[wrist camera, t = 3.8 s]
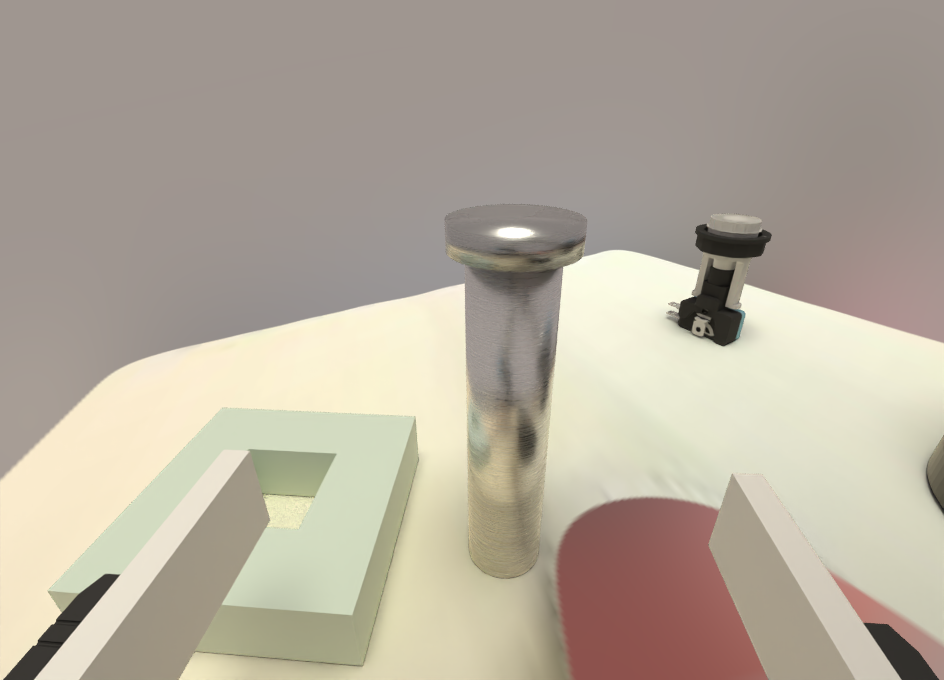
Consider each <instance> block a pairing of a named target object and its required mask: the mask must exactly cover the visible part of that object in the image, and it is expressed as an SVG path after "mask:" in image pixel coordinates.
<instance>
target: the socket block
mask: <svg viewBox="0 0 944 680" xmlns="http://www.w3.org/2000/svg"><path fill="white" fill-rule="evenodd" d="M223 450H245V451H250V453H251V457H252V460H253V463H254V467H255V470H256V474H257V477H258V481H259V484H260V487H261V491H262V494H277V495H294V496H311V497H315V498H314V500H313V502H312V504H311V506H310V508H309V510H308V512H307V514H306V516H305V518H304V520H303V521H302V523H301V525H300V527H299V529H287V528H272V527H266V528H265V530H264V532H263V533H262V535H261V537H260V539H259V540H258V542H257V544H256V546H255V547H254V549H253V551H252V552H251V554H250V556H249V558H248V559H247V561H246V563H245V565H244V566H243V568H242V570H241V572H240V573H239V575H238V577H237V579H236V580H235V582H234V584H233V586H232V587H231V589H230V591H229V593H228V594H227V596H226V598H225V599H224V601H223V603H222V605H221V606H220V608H219V610H218V612H217V613H216V615H215V617H214V619H213V620H212V622H211V624H210V626H209V627H208V629H207V631H206V633H205V634H204V636H203V638H202V640H201V641H200V643H199V645H198V647H197V648H196V650H195V651H199V652H210V653H222V654H233V655H244V656H256V657H267V658H278V659H290V660H301V661H312V662H324V663H335V664H346V665H358V666H363V663H364V659H365V655H366V652H367V648H368V644H369V640H370V637H371V633H372V629H373V626H374V622H375V618H376V615H377V611H378V607H379V603H380V600H381V596H382V592H383V589H384V585H385V581H386V578H387V574H388V570H389V566H390V563H391V559H392V555H393V552H394V548H395V544H396V541H397V537H398V533H399V529H400V526H401V522H402V518H403V515H404V511H405V507H406V503H407V500H408V496H409V492H410V489H411V485H412V481H413V478H414V474H415V470H416V466H417V463H418V459H419V458H418V445H417V432H416V419H415V416H395V415H373V414H351V413H329V412H308V411H286V410H264V409H242V408H222V409H221V410H220V411H219V412H218V413H217V414H216V415H215V416H214V417H213V418H212V419H211V420H210V421H209V422H208V423H207V424H206V425H205V426H204V428H203V429H202V430H201V431H200V432H199V433H198V434H197V435H196V436H195V437H194V438H193V439H192V440H191V441H190V442H189V443H188V444H187V445H186V446H185V447H184V448H183V449H182V451H181V452H180V453H179V454H178V455H177V456H176V457H175V458H174V459H173V460H172V461H171V462H170V463H169V464H168V465H167V466H166V467H165V468H164V469H163V470H162V471H161V472H160V474H159V475H158V476H157V477H156V478H155V479H154V480H153V481H152V482H151V483H150V484H149V485H148V486H147V487H146V488H145V489H144V490H143V491H142V492H141V493H140V494H139V496H138V497H137V498H136V499H135V500H134V501H133V502H132V503H131V504H130V505H129V506H128V507H127V508H126V509H125V510H124V511H123V512H122V513H121V514H120V515H119V516H118V517H117V519H116V520H115V521H114V522H113V523H112V524H111V525H110V526H109V527H108V528H107V529H106V530H105V531H104V532H103V533H102V534H101V535H100V536H99V537H98V538H97V539H96V541H95V542H94V543H93V544H92V545H91V546H90V547H89V548H88V549H87V550H86V551H85V552H84V553H83V554H82V555H81V556H80V557H79V558H78V559H77V560H76V561H75V562H74V564H73V565H72V566H71V567H70V568H69V569H68V570H67V571H66V572H65V573H64V574H63V575H62V576H61V577H60V578H59V579H58V580H57V581H56V582H55V583H54V584H53V585H52V587H51V588H50V589H49V590H48V593H49V594H50V596H51V597H52V599H53V600H54V602H55V603H56V605H57V606H58V608H59V609H60V611H61V612H63V611H64V610H65V609H66V608H67V607H68V605H69V604H70V603H71V602H72V601H73V600H74V599H75V597H76V596H77V595H78V594H79V593H81V592H82V591H83V590H85V589H86V588H87V587H88V586H90V585H91V584H92V583H94V582H95V581H96V580H98V579H99V578H100V577H102V576H103V575H104V574H120V575H121V574H122V572H123V571H124V570H125V569H126V567H127V566H128V565H129V564H130V563H131V561H132V560H133V559H134V558H135V557H136V555H137V554H138V553H139V552H140V550H141V549H142V548H143V547H144V546H145V544H146V543H147V542H148V541H149V540H150V538H151V537H152V536H153V535H154V533H155V532H156V531H157V530H158V529H159V527H160V526H161V525H162V524H163V523H164V521H165V520H166V519H167V518H168V516H169V515H170V514H171V513H172V512H173V510H174V509H175V508H176V507H177V506H178V504H179V503H180V502H181V501H182V500H183V498H184V497H185V496H186V495H187V493H188V492H189V491H190V490H191V489H192V487H193V486H194V485H195V484H196V483H197V481H198V480H199V479H200V478H201V476H202V475H203V474H204V473H205V472H206V470H207V469H208V468H209V467H210V466H211V464H212V463H213V462H214V461H215V459H216V458H217V457H218V456H219V455H220V453H221V452H222V451H223Z"/></svg>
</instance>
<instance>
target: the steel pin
mask: <svg viewBox="0 0 944 680" xmlns="http://www.w3.org/2000/svg"><path fill="white" fill-rule="evenodd" d="M586 228H587V219H586V218H585V217H584V216H583V215H581V214H579V213H577V212H573V211H570V210H567V209H562V208H556V207H550V206H540V205H525V204H500V205H485V206H476V207H470V208H465V209H461V210H457V211H455V212H452V213H450V214H448V215H447V216H446V217H445V241H446V242H445V244H446V254H447V255H448V256H449V257H450V258H451V259H453V260H455V261H457V262H459V263H461V264H465V321H466V387H467V454H468V521H469V552H470V556H471V558H472V560H473V562H474V563H475V564H476V566H477V567H478V568H479V569H481V570H482V571H483V572H485V573H487V574H489V575H491V576H494V577H498V578H513V577H517V576H520V575H522V574H524V573H526V572H527V571H528V570H530V569H531V568H532V566H533V565H534V564H535V562H536V560H537V557H538V552H539V540H540V529H541V517H542V505H543V494H544V482H545V471H546V459H547V448H548V436H549V425H550V413H551V402H552V390H553V378H554V367H555V355H556V344H557V332H558V321H559V309H560V298H561V286H562V275H563V267H564V266H567V265H570V264H573V263H575V262H577V261H579V260H580V259H581V258H582V257H583V255H584V247H585V237H586Z"/></svg>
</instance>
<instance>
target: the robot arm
mask: <svg viewBox="0 0 944 680" xmlns="http://www.w3.org/2000/svg"><path fill="white" fill-rule="evenodd" d="M927 474H928V480H929V483H930V486H931V488H932V490H933V492H934V494H935V496H936V498H937V499H938V501H939V503H940V504H941V505H942V507H943V508H944V436H943V437H942V439H941V441H940V442H939V444H938V446H937V447H936V449H935V451H934V453H933V454H932V456H931V458H930V460H929V462H928V467H927ZM269 521H270V518H269V515H268V511H267V508H266V504H265V501H264V498H263V494H262V491H261V487H260V484H259V481H258V477H257V474H256V470H255V467H254V463H253V460H252V457H251V453H250V451H245V450H223V451H222V452H221V453H220V455H219V456H218V457H217V458H216V459H215V461H214V462H213V463H212V464H211V466H210V467H209V468H208V469H207V470H206V472H205V473H204V474H203V475H202V476H201V478H200V479H199V480H198V481H197V483H196V484H195V485H194V486H193V487H192V489H191V490H190V491H189V492H188V493H187V495H186V496H185V497H184V498H183V500H182V501H181V502H180V503H179V504H178V506H177V507H176V508H175V509H174V510H173V512H172V513H171V514H170V515H169V516H168V518H167V519H166V520H165V521H164V523H163V524H162V525H161V526H160V527H159V529H158V530H157V531H156V532H155V533H154V535H153V536H152V537H151V538H150V540H149V541H148V542H147V543H146V544H145V546H144V547H143V548H142V549H141V550H140V552H139V553H138V554H137V555H136V557H135V558H134V559H133V560H132V561H131V563H130V564H129V565H128V566H127V567H126V569H125V570H124V571H123V572H122V574H121V575H120V574H104V575H103V576H102V577H100V578H99V579H98V580H96V581H95V582H94V583H92V584H91V585H90V586H88V587H87V588H86V589H85V590H83V591H82V592H81V593H79V594H78V595H77V596H76V597H75V599H74V600H73V601H72V602H71V603H70V604H69V605H68V607H67V608H66V609H65V610H64V611H63V612H62V613H61V614H60V616H59V617H58V618H57V619H56V623H55V624H54V625H53V624H52V625H51V626H50V627H49V628H48V629H47V630H46V632H45V633H44V634H43V635H42V636H41V637H40V638H39V640H38V643H37V645H36V646H32V648H31V649H30V650H29V651H28V652H27V653H26V654H25V656H24V657H23V658H22V659H21V660H20V661H19V662H18V664H17V665H16V666H15V667H14V668H13V669H12V670H11V672H10V673H9V674H8V675H7V676H6V677H5V678H4V679H3V680H179V678H180V676H181V674H182V673H183V671H184V669H185V667H186V666H187V664H188V662H189V660H190V659H191V657H192V655H193V653H194V652H195V650H196V648H197V647H198V645H199V643H200V641H201V640H202V638H203V636H204V634H205V633H206V631H207V629H208V627H209V626H210V624H211V622H212V620H213V619H214V617H215V615H216V613H217V612H218V610H219V608H220V606H221V605H222V603H223V601H224V599H225V598H226V596H227V594H228V593H229V591H230V589H231V587H232V586H233V584H234V582H235V580H236V579H237V577H238V575H239V573H240V572H241V570H242V568H243V566H244V565H245V563H246V561H247V559H248V558H249V556H250V554H251V552H252V551H253V549H254V547H255V546H256V544H257V542H258V540H259V539H260V537H261V535H262V533H263V532H264V530H265V528H266V526H267V525H268V523H269ZM708 545H709V548H710V550H711V552H712V554H713V557H714V559H715V561H716V563H717V566H718V568H719V570H720V572H721V574H722V576H723V579H724V581H725V584H726V586H727V588H728V590H729V593H730V595H731V597H732V599H733V601H734V604H735V606H736V608H737V610H738V613H739V615H740V617H741V619H742V622H743V624H744V626H745V628H746V630H747V633H748V635H749V637H750V640H751V642H752V644H753V646H754V648H755V651H756V653H757V655H758V657H759V660H760V662H761V664H762V667H763V669H764V671H765V673H766V675H767V678H768V680H939V679H938V678H937V676H936V675H935V674H934V673H933V671H932V669H931V668H930V667H929V665H928V664H927V663H926V661H925V660H924V659H923V657H922V656H921V655H920V653H919V652H918V651H917V650H916V649H915V648H914V647H912V646H911V645H910V644H909V643H908V642H907V641H906V640H905V639H903V638H902V637H901V636H900V635H899V634H898V633H897V632H895V631H894V630H893V629H892V628H891V627H890V626H889V625H887V624H875V623H863V622H862V621H861V619H860V618H859V616H858V615H857V613H856V612H855V611H854V609H853V607H852V606H851V604H850V603H849V601H848V600H847V598H846V597H845V596H844V594H843V593H842V591H841V590H840V588H839V587H838V585H837V584H836V582H835V581H834V579H833V578H832V576H831V575H830V573H829V572H828V570H827V569H826V567H825V566H824V564H823V563H822V561H821V560H820V558H819V557H818V556H817V554H816V553H815V551H814V550H813V548H812V547H811V545H810V544H809V542H808V541H807V539H806V538H805V536H804V535H803V533H802V532H801V530H800V529H799V527H798V526H797V524H796V523H795V521H794V520H793V519H792V517H791V516H790V514H789V513H788V511H787V510H786V508H785V507H784V505H783V504H782V502H781V501H780V499H779V498H778V496H777V495H776V493H775V492H774V490H773V489H772V487H771V486H770V484H769V483H768V482H767V480H766V479H765V477H764V476H763V474H743V473H732V475H731V478H730V481H729V484H728V487H727V490H726V493H725V496H724V499H723V502H722V505H721V508H720V511H719V514H718V517H717V520H716V524H715V527H714V530H713V533H712V535H711V538H710V541H709V544H708Z"/></svg>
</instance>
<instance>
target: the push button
mask: <svg viewBox="0 0 944 680" xmlns="http://www.w3.org/2000/svg"><path fill="white" fill-rule="evenodd" d="M761 223H762V220H761V219H759V218H756V217H752V216H747V215H740V214H715V215H712V216H711V219H710V223H708V224H704V225H699V226H697V227H696V231H695V233H696V234H697V240H696V246H697V247H698V248H699V249H700V250H701V251H702V252H703V257H702V261H701V266H700V270H699V274H698V279H697V283H696V287H695V290H693V291H692V295H693V296H694V297H691V298H688V299H685V300H683V301H681V303H680V304H678V303H675V302H671V303H668V305H671V306H674V307H676V308H677V309H679V313H676V312H674V311H669V312H666V313H667V314H669V315H672V316H674V317H675V318H677V319H679V326H680V327H683V328H685V329H687V330H690V331H692V333H693V334H695V335H698V336H700V337H701V336H705V337H707V338H710V339H712V340H714V341H715V343H717V344H719V345H725V344H727V343H730V342H732V341H734V340H736V339H738V338H739V336H740V332H741V329H742V325H743V322H744V318H745V312H744V311H742V310H739V308H740V307H741V303H739V300H740V297H741V293H742V290H743V286H744V283H745V279H746V275H747V272H748V268H749V265H750V261H751V259H752V257H758V256H761V255H762V254H763V251H764V248H765V245H766V243H767V242H769V241H770V239H771V236H772V235H771V234H770V233H769V232H767V231H765V230H762V228H760V227H761ZM673 304H676V305H673ZM671 313H674V314H671Z"/></svg>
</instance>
